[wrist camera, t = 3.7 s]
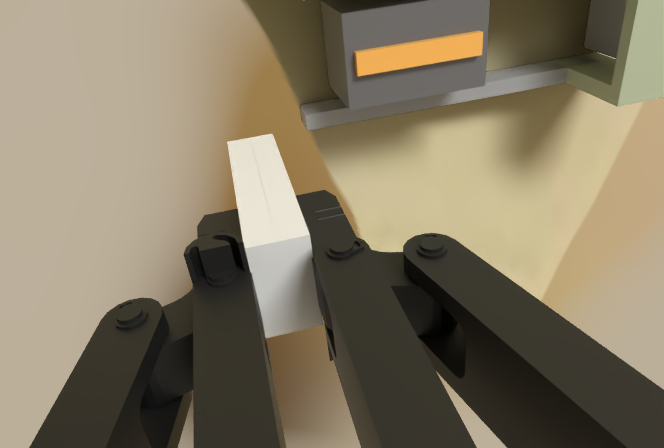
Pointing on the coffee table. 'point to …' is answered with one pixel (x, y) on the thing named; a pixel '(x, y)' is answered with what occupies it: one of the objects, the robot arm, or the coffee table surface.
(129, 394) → the robot arm
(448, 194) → the coffee table surface
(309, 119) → the green wheeled box
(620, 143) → the coffee table surface
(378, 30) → the orange striped grey block
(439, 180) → the coffee table surface
